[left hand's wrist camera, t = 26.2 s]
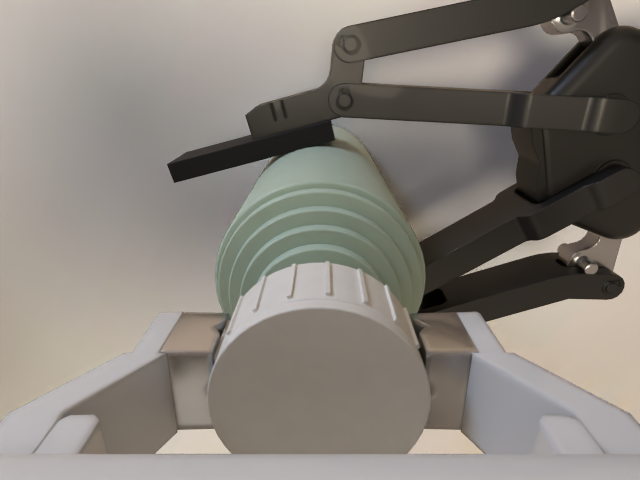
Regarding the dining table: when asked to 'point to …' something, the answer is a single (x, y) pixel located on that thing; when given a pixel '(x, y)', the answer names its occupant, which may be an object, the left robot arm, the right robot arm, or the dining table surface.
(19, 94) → the dining table surface
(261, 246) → the bottle
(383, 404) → the cap
